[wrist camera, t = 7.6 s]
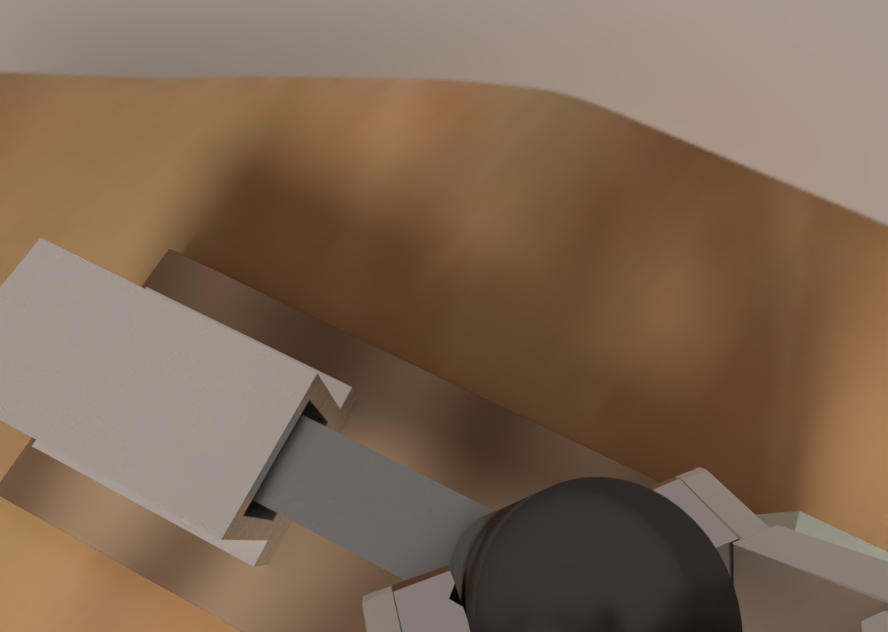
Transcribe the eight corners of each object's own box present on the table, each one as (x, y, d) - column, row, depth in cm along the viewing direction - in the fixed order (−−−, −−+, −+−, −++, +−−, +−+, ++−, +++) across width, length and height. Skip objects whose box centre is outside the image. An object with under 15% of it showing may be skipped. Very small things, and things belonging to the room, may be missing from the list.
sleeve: (49, 446, 21) (-99, 407, 15) (153, 299, 22) (59, 214, 17) (268, 564, 19) (201, 574, 14) (358, 399, 21) (333, 346, 16)
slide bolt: (169, 466, 18) (-144, 373, 8) (229, 371, 19) (18, 186, 9) (653, 723, 16) (1020, 1013, 6) (690, 601, 17) (1053, 681, 7)
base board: (12, 494, 21) (-7, 492, 20) (179, 260, 24) (169, 248, 23) (736, 899, 18) (754, 918, 17) (816, 563, 21) (834, 565, 20)
